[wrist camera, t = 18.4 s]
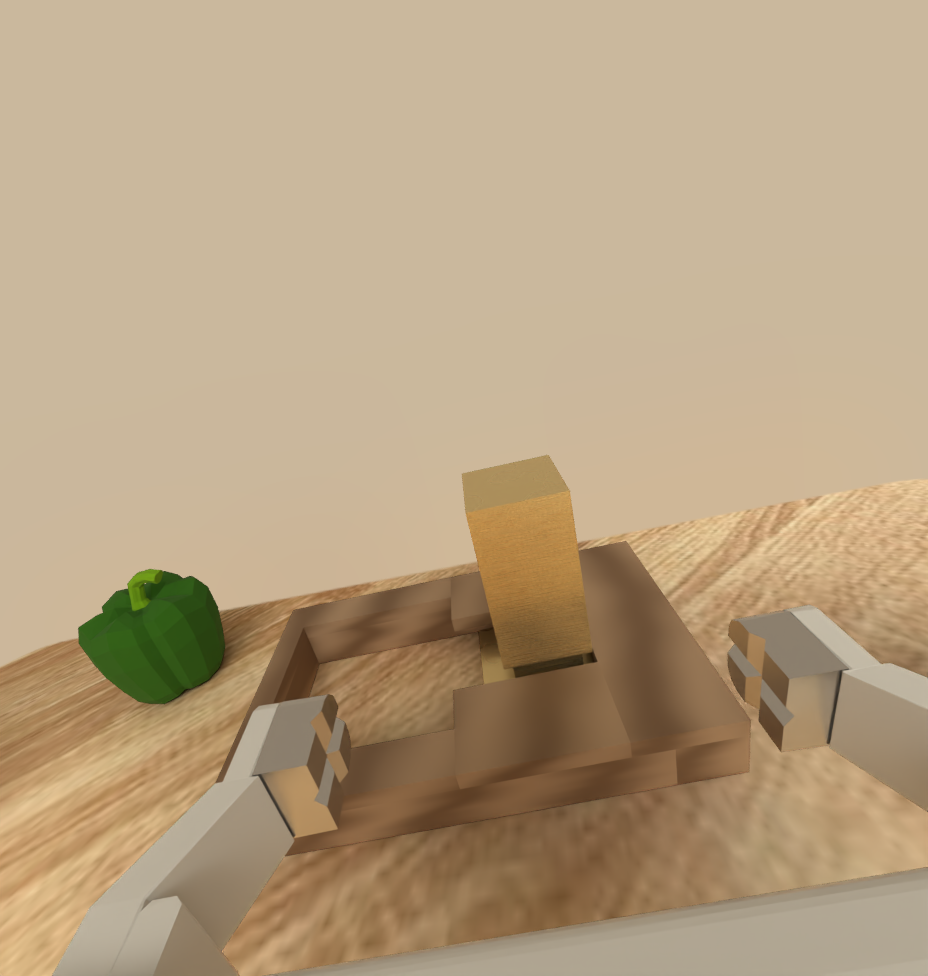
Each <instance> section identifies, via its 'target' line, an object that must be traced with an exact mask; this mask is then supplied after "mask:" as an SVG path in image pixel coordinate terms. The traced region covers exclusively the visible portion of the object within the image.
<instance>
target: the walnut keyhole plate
mask: <svg viewBox="0 0 928 976" xmlns="http://www.w3.org/2000/svg"><path fill="white" fill-rule="evenodd" d="M578 553H579V560H580V567H581V574H582V581H583V588H584V595H585V602H586V609H587V616H588V623H589V630H590V637H591V644H592V651H593V652H591V654H592V657H593V660H594V662H595V663H590V664H584V665H579V666H574V667H569V668H564V669H559V670H554V671H549V672H544V673H538V674H533V675H528V676H523V677H518V678H513V679H508V680H503V681H498V682H492V683H487V684H482V685H477V686H472V687H467V688H462V689H457V690H453V700H454V729H450V730H445V731H440V732H435V733H429V734H424V735H419V736H414V737H408V738H403V739H398V740H393V741H388V742H382V743H377V744H372V745H367V746H361V747H356V748H351V759H350V765H349V772H348V773H347V774H346V776H345V777H344V778H343V779H342V781H341V782H340V785H341V787H342V790H343V792H344V799H343V804H342V810H341V815H340V820H339V826H338V829H336V830H331V831H326V832H321V833H317V834H312V835H307V836H302V837H297V838H294V843H293V844H292V846H291V847H290V849H289V850H288V852H287V853H286V855H285V856H288V855H293V854H299V853H305V852H310V851H316V850H321V849H327V848H332V847H338V846H343V845H349V844H354V843H360V842H365V841H371V840H376V839H382V838H387V837H393V836H398V835H404V834H409V833H415V832H420V831H426V830H431V829H437V828H442V827H448V826H453V825H459V824H464V823H470V822H475V821H481V820H486V819H492V818H497V817H503V816H508V815H514V814H519V813H525V812H530V811H536V810H541V809H547V808H552V807H558V806H563V805H569V804H574V803H580V802H586V801H591V800H597V799H602V798H608V797H613V796H619V795H624V794H630V793H635V792H641V791H646V790H652V789H657V788H663V787H668V786H674V785H679V784H685V783H690V782H696V781H701V780H707V779H712V778H718V777H723V776H729V775H734V774H740V773H745V772H749V759H750V727H751V720H750V718H749V717H748V715H747V714H746V713H745V711H744V710H743V708H742V707H741V705H740V704H739V702H738V701H737V700H736V698H735V697H734V695H733V694H732V692H731V691H730V690H729V688H728V687H727V685H726V684H725V682H724V681H723V679H722V678H721V677H720V675H719V674H718V672H717V671H716V669H715V668H714V667H713V665H712V664H711V662H710V661H709V659H708V658H707V656H706V655H705V654H704V652H703V651H702V649H701V648H700V646H699V645H698V644H697V642H696V641H695V639H694V638H693V636H692V635H691V634H690V632H689V631H688V629H687V628H686V626H685V625H684V623H683V622H682V621H681V619H680V618H679V616H678V615H677V613H676V612H675V611H674V609H673V608H672V606H671V605H670V603H669V602H668V600H667V599H666V598H665V596H664V595H663V593H662V592H661V590H660V589H659V588H658V586H657V585H656V583H655V582H654V580H653V579H652V577H651V576H650V575H649V573H648V572H647V570H646V569H645V567H644V566H643V565H642V563H641V562H640V560H639V559H638V557H637V556H636V554H635V553H634V552H633V550H632V549H631V547H630V546H629V544H628V543H627V542H626V541H623V542H619V543H614V544H609V545H604V546H599V547H595V548H590V549H585V550H580V551H578ZM492 627H493V623H492V619H491V615H490V611H489V607H488V603H487V599H486V594H485V590H484V586H483V582H482V578H481V574H480V571H479V572H474V573H469V574H465V575H460V576H455V577H450V578H445V579H440V580H436V581H431V582H426V583H421V584H416V585H412V586H407V587H402V588H397V589H392V590H387V591H383V592H378V593H373V594H368V595H363V596H359V597H354V598H349V599H344V600H339V601H335V602H330V603H325V604H320V605H315V606H310V607H306V608H301V609H296V610H293V612H292V614H291V616H290V619H289V621H288V623H287V625H286V627H285V630H284V632H283V634H282V636H281V639H280V641H279V643H278V645H277V647H276V650H275V652H274V654H273V656H272V659H271V661H270V663H269V665H268V667H267V670H266V672H265V674H264V676H263V679H262V681H261V683H260V685H259V687H258V690H257V692H256V694H255V696H254V699H253V701H252V703H251V705H250V707H249V710H248V712H247V714H246V716H245V719H244V721H243V723H242V725H241V727H240V730H239V732H238V734H237V736H236V739H235V741H234V743H233V745H232V747H231V750H230V752H229V754H228V756H227V759H226V761H225V763H224V765H223V767H222V770H221V772H220V774H219V776H218V779H217V781H216V783H220V782H223V780H224V778H225V775H226V773H227V771H228V768H229V766H230V764H231V761H232V759H233V757H234V754H235V752H236V750H237V747H238V745H239V743H240V740H241V738H242V736H243V733H244V731H245V729H246V726H247V724H248V722H249V719H250V717H251V715H252V713H253V711H254V710H255V709H256V708H257V707H258V706H262V705H268V704H275V703H281V702H284V701H290V700H297V699H303V698H309V695H310V691H311V688H312V685H313V682H314V679H315V676H316V673H317V670H318V666H319V664H320V663H325V662H330V661H335V660H340V659H345V658H350V657H355V656H360V655H365V654H370V653H375V652H380V651H385V650H390V649H395V648H400V647H404V646H409V645H414V644H419V643H424V642H429V641H434V640H439V639H444V638H449V637H454V636H459V635H464V634H469V633H474V632H478V630H482V629H487V628H492Z"/></svg>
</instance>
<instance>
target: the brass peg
mask: <svg viewBox="0 0 928 976" xmlns="http://www.w3.org/2000/svg"><path fill="white" fill-rule="evenodd" d="M462 481H463V491H464V501H465V511H466V516H467V521H468V525H469V529H470V533H471V537H472V541H473V545H474V549H475V553H476V558H477V562H478V566H479V570H480V574H481V578H482V582H483V586H484V590H485V594H486V599H487V603H488V607H489V611H490V615H491V619H492V623H493V627H492V628H487V629H482V630H478V632H479V642H480V652H481V662H482V672H483V682H484V684H487V683H492V682H498V681H503V680H508V679H513V678H518V677H523V676H528V675H533V674H538V673H544V672H549V671H554V670H559V669H564V668H569V667H574V666H579V665H584V664H590V663H595V662H594V660H593V657H592V654H591V652H593V651H592V644H591V637H590V630H589V623H588V616H587V609H586V602H585V595H584V588H583V581H582V574H581V567H580V560H579V553H578V546H577V539H576V532H575V524H574V518H573V510H572V504H571V497H570V490H569V489H568V487H567V486H566V484H565V482H564V480H563V479H562V477H561V475H560V474H559V472H558V470H557V469H556V467H555V465H554V463H553V462H552V460H551V459H550V457H549V455H546V456H541V457H537V458H532V459H527V460H522V461H518V462H513V463H509V464H504V465H500V466H495V467H490V468H486V469H481V470H477V471H472V472H468V473H463V474H462Z"/></svg>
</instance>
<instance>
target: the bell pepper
mask: <svg viewBox="0 0 928 976" xmlns="http://www.w3.org/2000/svg"><path fill="white" fill-rule="evenodd" d="M145 583H146V584H145ZM127 585H128V589H124V590H120V591H116V592H115V593H114V594H113V595H112V597H111V598H110V599H109V600H108V601H107V602H106V603H105V604H104V605H103V606H102V610H103V613H102V614H99V615H97V616H95V617H94V618H92V619H91V620H89V621H88V622H86V623H85V624H83V625H82V626H80V627H79V628H78V630H79V644H80V646H81V647H82V649H83V650H84V651H85V653H86V654H87V655H88V657H89V658H90V660H91V661H92V662H93V664H94V665H95V666H96V667H97V668H98V669H99V670H100V672H101V673H102V674H103V675H104V676H105V677H106V678H107V679H108V680H109V681H111V682H112V683H113V684H115V685H116V686H117V687H118V688H120V689H121V690H122V691H123V692H125V693H126V694H128V695H129V696H131V697H133V698H134V699H136V700H137V701H139V702H143V703H149V704H165V703H167V702H169V701H171V700H172V699H174V698H176V697H178V696H179V695H180V694H181V693H182V692H183V691H184V690H185V689H190V688H194V687H196V686H198V685H200V684H201V683H203V682H205V681H207V680H209V679H210V678H211V676H212V675H213V674H214V673H215V672H216V671H217V670H218V669H219V667H220V665H221V662H222V659H223V655H224V650H225V642H224V635H223V628H222V624H221V619H220V615H219V610H218V606H217V605H216V602H215V600H214V598H213V596H212V594H211V592H210V591H209V588H208V587H207V586H206V585H204V584H203V583H202V582H200V581H199V580H197V579H196V578H194V577H192V576H189V577H186V578H182V577H181V576H179V575H178V574H174V573H169V572H166V571H162V570H153V569H148V570H145V571H141V572H139V573H137V574H136V575H135V576H133V578H132V579H131V580H130V581H129V583H128V584H127Z"/></svg>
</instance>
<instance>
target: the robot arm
mask: <svg viewBox="0 0 928 976" xmlns="http://www.w3.org/2000/svg"><path fill="white" fill-rule="evenodd" d="M728 636H729V637H730V638H731V640H732V641H733V642H734V643H735V644H734V645H733V647H732V648H731V649H730V650H729V652H728V668H729V672H730V676H731V679H732V681H733V683H734V685H735V687H736V689H737V691H738V693H739V694H740V695H741V697H742V698H743V700H744V701H745V702H747V703H748V704H750V705H752V706H754V707H756V708H758V709H759V722H760V724H761V725H762V726H763V728H764V729H765V731H766V732H767V733H768V735H769V736H770V737H771V739H772V740H773V742H774V743H775V744H776V746H777V747H778V749H779V750H780V751H781V752H786V751H793V750H800V749H807V748H814V747H821V746H828V745H830V746H829V748H830V749H832V750H833V751H835V752H836V753H838V754H839V755H841V756H843V757H844V758H846V759H847V760H849V761H850V762H852V763H853V764H855V765H856V766H858V767H859V768H861V769H863V770H864V771H866V772H867V773H869V774H870V775H872V776H873V777H875V778H876V779H878V780H879V781H881V782H882V783H884V784H886V785H887V786H889V787H890V788H892V789H893V790H895V791H896V792H898V793H899V794H901V795H902V796H904V797H906V798H907V799H909V800H910V801H912V802H913V803H915V804H916V805H918V806H919V807H921V808H922V809H924V810H925V811H927V812H928V677H925V676H922V675H920V674H917V673H915V672H912V671H910V670H907V669H905V668H902V667H899V666H897V665H894V664H892V663H886V664H881V663H880V662H878V661H877V660H876V659H875V658H874V657H873V656H872V655H870V654H869V653H868V652H867V651H866V650H865V649H864V648H862V647H861V646H860V645H859V644H858V643H857V642H856V641H854V640H853V639H852V638H851V637H850V636H849V635H848V634H846V633H845V632H844V631H843V630H842V629H841V628H840V627H838V626H837V625H836V624H835V623H834V622H833V621H832V620H830V619H829V618H828V617H827V616H826V615H825V614H824V613H822V612H821V611H820V610H819V609H818V608H816V607H814V606H811V605H806V606H801V607H795V608H790V609H785V610H783V611H775V612H770V613H765V614H760V615H755V616H750V617H744V618H739V619H734V620H732V621H731V623H730V625H729V633H728ZM337 711H338V705H337V703H336V701H335V699H334V697H333V695H322V696H316V697H309V698H303V699H297V700H290V701H284V702H281V703H275V704H268V705H262V706H258V707H257V708H256V709H255V710H254V711H253V713H252V715H251V717H250V719H249V722H248V724H247V726H246V729H245V731H244V733H243V736H242V738H241V740H240V743H239V745H238V747H237V750H236V752H235V754H234V757H233V759H232V761H231V764H230V766H229V768H228V771H227V773H226V775H225V778H224V780H223V782H220V783H215V784H214V785H213V786H212V787H211V788H210V789H209V790H208V791H207V792H206V793H205V794H204V795H203V796H202V797H201V798H200V799H199V800H198V801H197V802H196V803H195V804H194V805H193V806H192V807H191V808H190V809H189V810H188V811H187V812H186V813H185V814H184V815H183V816H182V817H181V818H180V819H179V820H178V821H177V822H176V823H175V824H174V825H173V826H172V827H171V828H170V829H169V830H168V831H167V832H166V833H165V834H164V835H163V836H162V837H161V838H160V839H159V840H158V841H157V842H156V843H155V844H154V845H153V846H152V847H150V848H149V849H148V850H147V851H146V852H145V853H144V854H143V855H142V856H141V857H140V858H139V859H138V860H137V861H136V862H135V863H134V864H133V865H132V866H131V867H130V868H129V869H128V870H127V871H126V872H125V873H124V874H123V875H122V876H121V877H120V878H119V879H118V880H117V881H116V882H115V883H114V884H113V885H112V886H111V887H110V888H109V889H108V890H107V891H106V892H105V893H104V894H103V895H102V896H101V897H100V898H99V899H98V900H97V901H96V902H95V903H94V904H93V905H92V906H91V907H90V908H89V910H88V912H87V913H86V915H85V917H84V919H83V921H82V923H81V924H80V926H79V928H78V930H77V932H76V933H75V935H74V937H73V939H72V941H71V942H70V944H69V946H68V948H67V950H66V951H65V953H64V955H63V957H62V959H61V960H60V962H59V964H58V966H57V968H56V970H55V971H54V973H53V975H52V976H239V974H238V971H237V970H236V969H235V968H234V966H233V965H232V964H231V963H230V961H229V960H228V959H227V958H226V956H225V955H224V954H223V953H222V950H223V948H224V947H225V945H226V944H227V942H228V941H229V939H230V938H231V936H232V935H233V933H234V932H235V930H236V929H237V927H238V926H239V924H240V923H241V921H242V920H243V918H244V917H245V915H246V914H247V912H248V911H249V909H250V908H251V906H252V905H253V903H254V902H255V900H256V899H257V897H258V896H259V894H260V893H261V891H262V890H263V888H264V886H265V885H266V883H267V882H268V880H269V879H270V877H271V876H272V874H273V873H274V871H275V870H276V868H277V867H278V865H279V864H280V862H281V861H282V859H283V858H284V856H285V855H286V853H287V852H288V850H289V849H290V847H291V846H292V844H293V843H294V838H297V837H302V836H307V835H312V834H317V833H321V832H326V831H331V830H336V829H338V826H339V820H340V815H341V810H342V804H343V799H344V792H343V790H342V787H341V785H340V782H341V781H342V779H343V778H344V777H345V776H346V774H347V773H348V772H349V765H350V759H351V742H350V737H349V732H348V729H347V727H346V724H345V722H344V721H342V720H340V719H339V718H337V717H336V715H337ZM264 976H928V867H925V868H919V869H913V870H907V871H901V872H894V873H888V874H882V875H876V876H870V877H864V878H858V879H852V880H846V881H840V882H833V883H827V884H821V885H815V886H809V887H803V888H796V889H790V890H784V891H778V892H772V893H766V894H760V895H753V896H747V897H741V898H735V899H729V900H723V901H716V902H710V903H704V904H698V905H692V906H686V907H679V908H673V909H667V910H661V911H655V912H649V913H643V914H636V915H630V916H624V917H618V918H612V919H606V920H600V921H594V922H588V923H581V924H575V925H569V926H563V927H557V928H551V929H545V930H539V931H533V932H527V933H521V934H514V935H508V936H502V937H496V938H490V939H484V940H478V941H472V942H466V943H460V944H453V945H447V946H441V947H435V948H429V949H423V950H417V951H411V952H405V953H398V954H392V955H386V956H380V957H374V958H368V959H362V960H356V961H350V962H343V963H337V964H331V965H325V966H319V967H313V968H307V969H301V970H295V971H288V972H282V973H276V974H270V975H264Z"/></svg>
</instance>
